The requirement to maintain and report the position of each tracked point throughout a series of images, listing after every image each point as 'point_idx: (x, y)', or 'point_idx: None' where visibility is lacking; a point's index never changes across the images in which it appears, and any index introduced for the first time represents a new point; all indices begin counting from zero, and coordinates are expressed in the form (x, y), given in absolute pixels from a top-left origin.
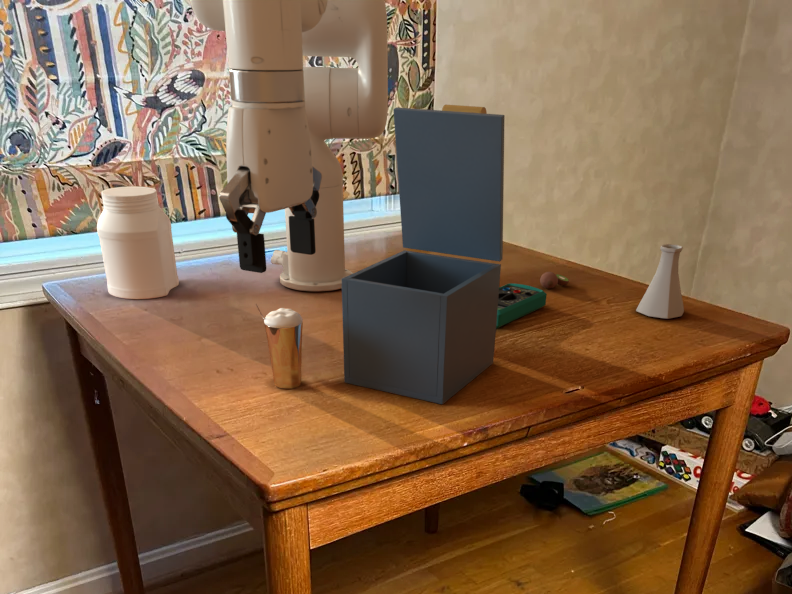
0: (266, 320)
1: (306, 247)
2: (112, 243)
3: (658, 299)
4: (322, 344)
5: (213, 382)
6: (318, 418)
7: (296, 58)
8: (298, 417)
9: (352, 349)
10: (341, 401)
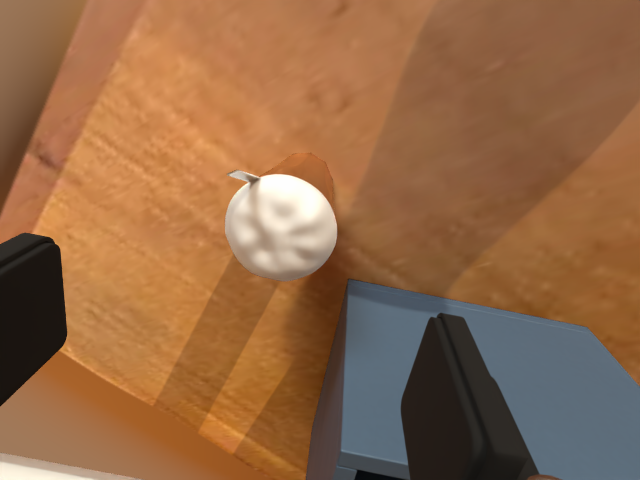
0: (234, 199)
1: (410, 406)
2: None
3: None
4: (572, 159)
5: (252, 5)
6: (188, 284)
7: None
8: (176, 254)
9: (341, 337)
10: (266, 297)
